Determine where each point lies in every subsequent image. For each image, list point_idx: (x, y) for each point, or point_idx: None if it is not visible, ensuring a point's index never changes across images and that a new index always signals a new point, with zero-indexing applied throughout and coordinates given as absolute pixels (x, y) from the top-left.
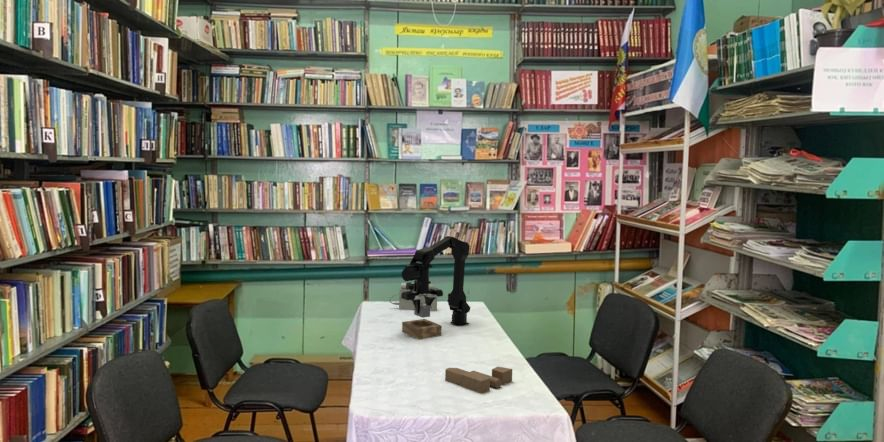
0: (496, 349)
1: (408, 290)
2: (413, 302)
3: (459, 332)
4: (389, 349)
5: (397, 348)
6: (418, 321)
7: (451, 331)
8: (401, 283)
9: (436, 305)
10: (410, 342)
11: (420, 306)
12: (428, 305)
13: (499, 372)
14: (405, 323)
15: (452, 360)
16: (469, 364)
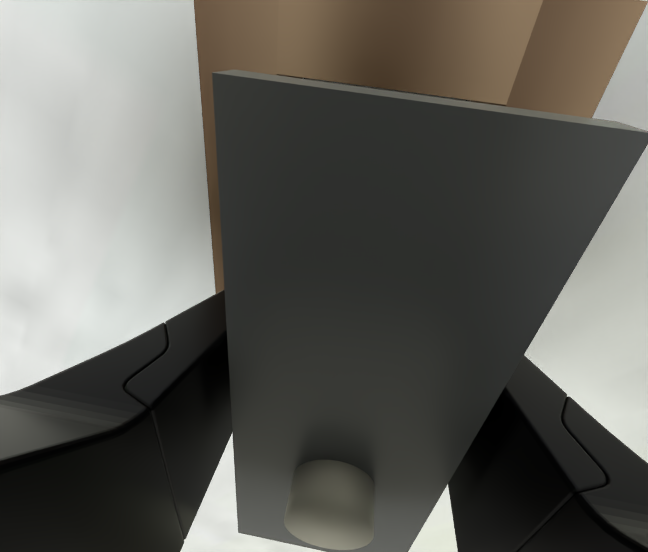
0: (453, 547)
1: None
2: (51, 400)
3: (639, 340)
4: (12, 314)
5: (59, 327)
6: (419, 92)
7: (630, 286)
8: None
9: None
10: (169, 295)
11: (237, 453)
12: (415, 515)
13: None
14: (199, 71)
15: (221, 511)
16: (248, 544)
